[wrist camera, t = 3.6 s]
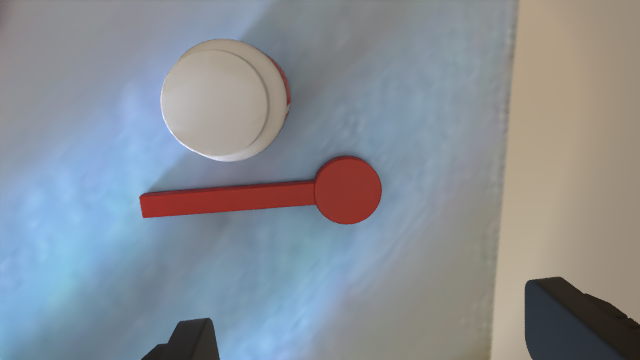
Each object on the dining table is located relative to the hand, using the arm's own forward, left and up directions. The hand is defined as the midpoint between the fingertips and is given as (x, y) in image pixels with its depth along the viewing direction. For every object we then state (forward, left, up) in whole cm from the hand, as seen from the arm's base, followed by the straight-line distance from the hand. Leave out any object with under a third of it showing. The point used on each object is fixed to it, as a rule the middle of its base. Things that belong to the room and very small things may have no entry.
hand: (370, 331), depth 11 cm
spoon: (-4, -1, -20) cm, 21 cm away
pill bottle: (-5, +6, -21) cm, 22 cm away
